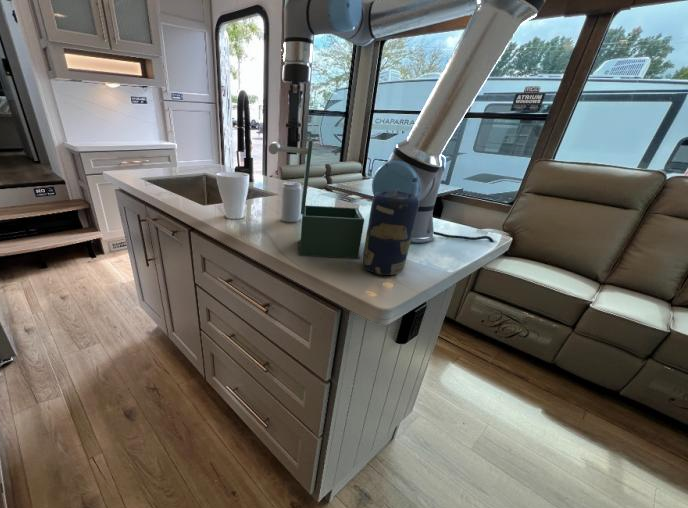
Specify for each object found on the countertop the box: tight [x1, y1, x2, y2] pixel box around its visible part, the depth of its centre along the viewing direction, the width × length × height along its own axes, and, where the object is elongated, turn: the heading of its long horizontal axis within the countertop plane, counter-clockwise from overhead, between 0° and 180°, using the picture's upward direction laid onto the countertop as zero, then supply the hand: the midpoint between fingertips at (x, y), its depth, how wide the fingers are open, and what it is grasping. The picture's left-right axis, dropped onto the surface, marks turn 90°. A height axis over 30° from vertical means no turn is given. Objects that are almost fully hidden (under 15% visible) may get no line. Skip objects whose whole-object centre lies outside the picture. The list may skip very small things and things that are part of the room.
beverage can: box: [280, 181, 303, 224], centre depth 103 cm, size 6×6×12 cm
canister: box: [361, 189, 419, 276], centre depth 69 cm, size 10×10×18 cm
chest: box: [299, 204, 365, 259], centre depth 81 cm, size 15×11×10 cm
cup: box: [215, 171, 250, 220], centre depth 104 cm, size 10×10×14 cm
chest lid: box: [268, 137, 314, 215], centre depth 75 cm, size 16×11×10 cm
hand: (292, 152), depth 95 cm, fingers open, 13 cm apart
